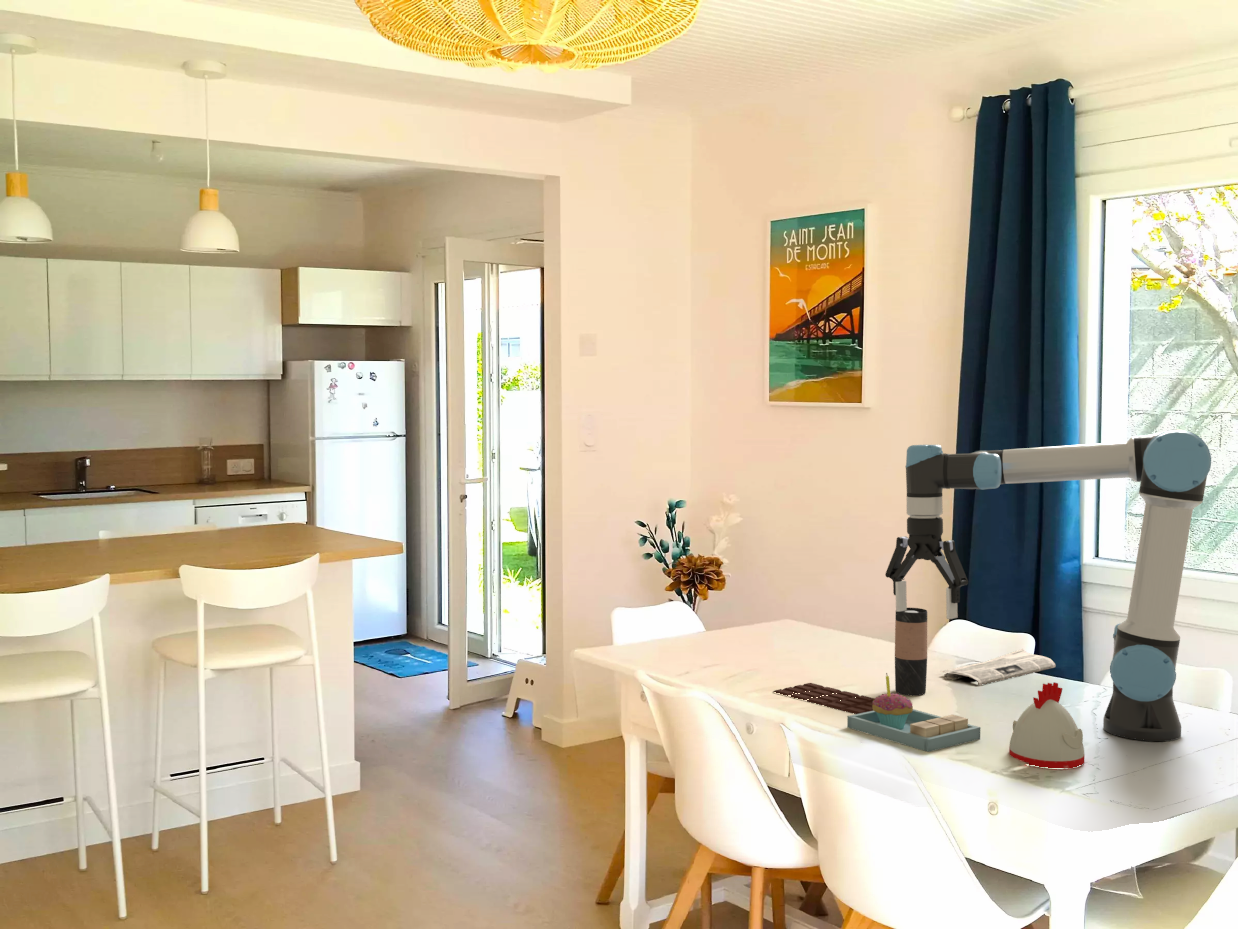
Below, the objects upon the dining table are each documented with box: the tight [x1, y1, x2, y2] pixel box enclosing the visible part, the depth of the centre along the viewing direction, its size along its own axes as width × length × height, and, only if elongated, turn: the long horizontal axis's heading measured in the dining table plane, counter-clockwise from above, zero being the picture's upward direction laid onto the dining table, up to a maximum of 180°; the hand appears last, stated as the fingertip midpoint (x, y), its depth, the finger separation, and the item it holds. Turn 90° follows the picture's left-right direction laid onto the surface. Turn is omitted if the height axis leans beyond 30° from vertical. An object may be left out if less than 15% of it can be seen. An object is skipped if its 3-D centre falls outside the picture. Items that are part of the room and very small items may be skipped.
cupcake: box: [872, 672, 914, 730], centre depth 254 cm, size 9×8×12 cm
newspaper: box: [940, 648, 1056, 687], centre depth 309 cm, size 35×12×4 cm, turn 128°
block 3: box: [940, 714, 969, 732], centre depth 246 cm, size 4×4×4 cm
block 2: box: [925, 718, 954, 735], centre depth 243 cm, size 4×4×4 cm
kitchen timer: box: [1008, 682, 1086, 769], centre depth 233 cm, size 14×14×15 cm
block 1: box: [910, 721, 939, 738], centre depth 241 cm, size 4×4×4 cm
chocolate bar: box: [772, 682, 876, 715], centre depth 281 cm, size 27×14×1 cm, turn 39°
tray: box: [846, 708, 981, 753], centre depth 249 cm, size 22×16×3 cm
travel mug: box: [894, 607, 928, 697], centre depth 287 cm, size 8×8×20 cm
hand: (926, 614), depth 256 cm, fingers open, 13 cm apart
